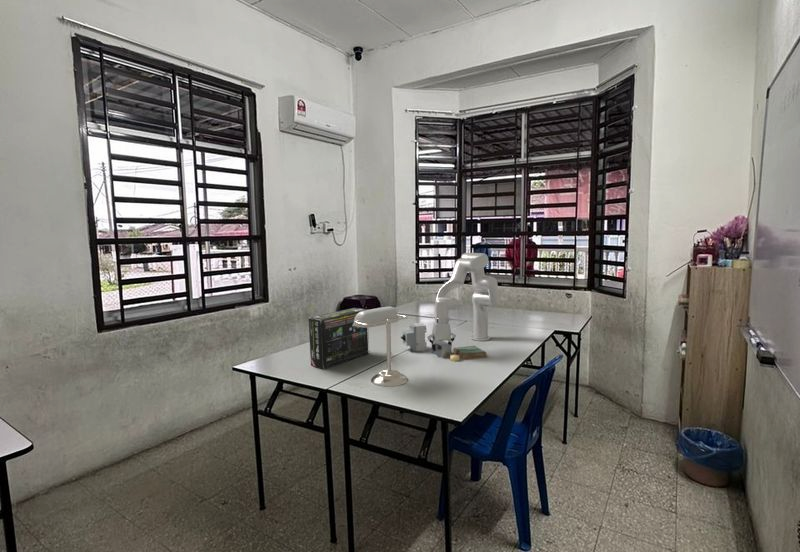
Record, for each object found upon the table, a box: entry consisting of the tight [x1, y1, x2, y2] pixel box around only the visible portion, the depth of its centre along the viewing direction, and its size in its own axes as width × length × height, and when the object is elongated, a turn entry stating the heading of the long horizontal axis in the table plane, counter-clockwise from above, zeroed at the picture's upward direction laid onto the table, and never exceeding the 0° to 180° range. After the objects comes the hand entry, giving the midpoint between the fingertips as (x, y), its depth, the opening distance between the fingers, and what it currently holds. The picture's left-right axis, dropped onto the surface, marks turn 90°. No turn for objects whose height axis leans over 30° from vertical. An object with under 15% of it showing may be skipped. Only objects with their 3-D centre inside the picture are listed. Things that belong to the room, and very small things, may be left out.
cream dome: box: [449, 354, 460, 362], centre depth 230 cm, size 5×5×2 cm
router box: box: [307, 307, 370, 370], centre depth 233 cm, size 36×11×27 cm, turn 141°
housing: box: [432, 340, 452, 359], centre depth 240 cm, size 11×6×7 cm, turn 23°
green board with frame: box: [452, 345, 487, 360], centre depth 240 cm, size 14×14×3 cm
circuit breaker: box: [400, 322, 428, 352], centre depth 251 cm, size 8×14×15 cm, turn 108°
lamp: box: [353, 306, 409, 387], centre depth 202 cm, size 26×24×34 cm
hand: (441, 350), depth 240 cm, fingers open, 9 cm apart
